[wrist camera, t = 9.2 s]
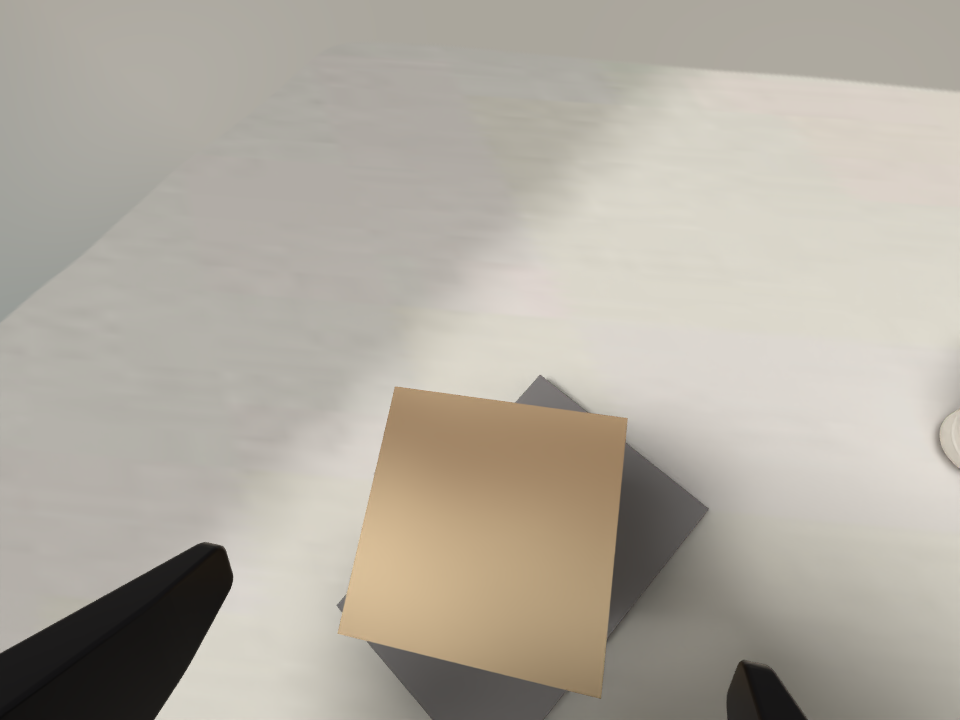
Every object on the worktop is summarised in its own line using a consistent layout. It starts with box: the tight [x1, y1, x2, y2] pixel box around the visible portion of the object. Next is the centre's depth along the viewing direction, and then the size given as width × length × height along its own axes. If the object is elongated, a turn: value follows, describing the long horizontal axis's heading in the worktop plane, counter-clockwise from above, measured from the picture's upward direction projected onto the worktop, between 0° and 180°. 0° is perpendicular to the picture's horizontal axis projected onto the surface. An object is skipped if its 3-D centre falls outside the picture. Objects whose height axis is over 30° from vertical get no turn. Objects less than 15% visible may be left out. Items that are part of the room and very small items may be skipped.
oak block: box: [338, 387, 628, 699], centre depth 15 cm, size 5×5×10 cm
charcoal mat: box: [337, 375, 708, 720], centre depth 20 cm, size 12×8×1 cm, turn 137°
